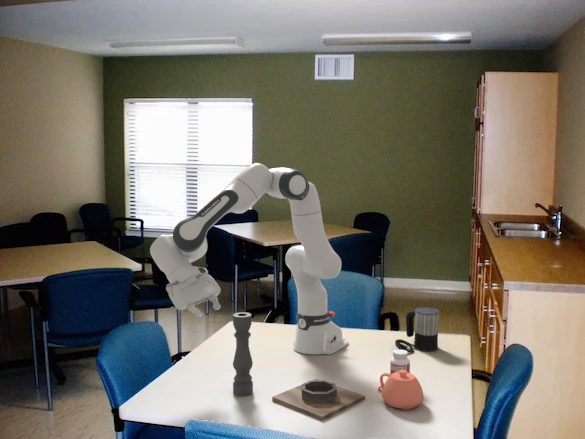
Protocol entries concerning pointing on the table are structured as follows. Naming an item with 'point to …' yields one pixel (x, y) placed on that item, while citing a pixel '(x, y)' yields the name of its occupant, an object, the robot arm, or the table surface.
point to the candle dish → (318, 408)
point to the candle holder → (242, 355)
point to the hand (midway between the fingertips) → (209, 312)
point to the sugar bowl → (401, 390)
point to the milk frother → (421, 330)
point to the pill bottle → (399, 361)
